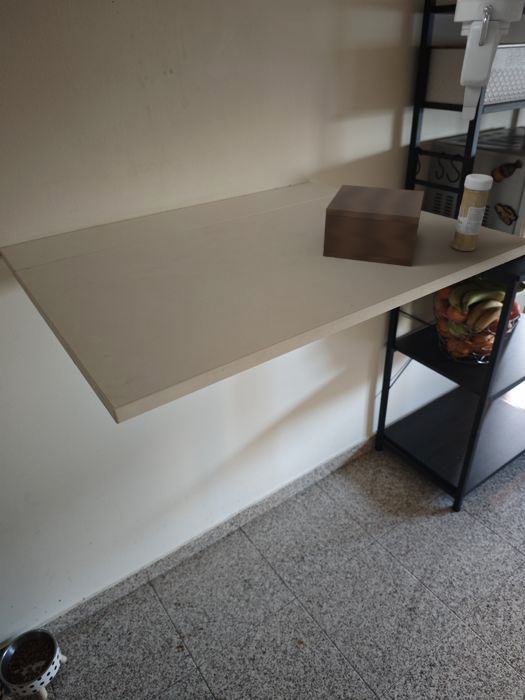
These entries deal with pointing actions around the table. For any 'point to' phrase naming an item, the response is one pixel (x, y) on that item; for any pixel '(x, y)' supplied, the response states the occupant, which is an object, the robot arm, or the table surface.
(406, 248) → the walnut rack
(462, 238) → the sprinkles bottle
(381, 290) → the table surface
